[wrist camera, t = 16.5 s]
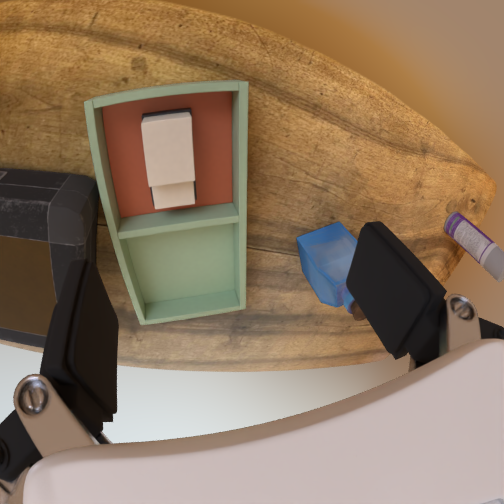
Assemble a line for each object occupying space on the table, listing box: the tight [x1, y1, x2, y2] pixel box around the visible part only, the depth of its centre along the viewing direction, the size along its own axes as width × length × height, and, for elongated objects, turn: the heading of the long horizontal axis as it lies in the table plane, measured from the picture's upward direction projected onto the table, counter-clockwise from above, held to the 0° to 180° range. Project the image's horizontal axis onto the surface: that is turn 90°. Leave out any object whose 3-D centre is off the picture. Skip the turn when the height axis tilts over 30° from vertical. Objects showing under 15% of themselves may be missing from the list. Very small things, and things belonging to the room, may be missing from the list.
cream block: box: [141, 108, 197, 209], centre depth 24 cm, size 9×4×4 cm, turn 179°
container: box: [444, 212, 504, 282], centre depth 39 cm, size 5×5×15 cm
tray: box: [84, 80, 249, 325], centre depth 29 cm, size 14×26×4 cm, turn 179°
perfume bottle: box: [297, 222, 366, 321], centre depth 34 cm, size 6×6×12 cm
